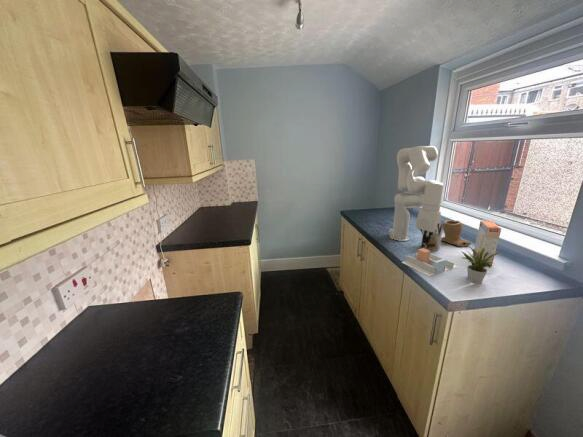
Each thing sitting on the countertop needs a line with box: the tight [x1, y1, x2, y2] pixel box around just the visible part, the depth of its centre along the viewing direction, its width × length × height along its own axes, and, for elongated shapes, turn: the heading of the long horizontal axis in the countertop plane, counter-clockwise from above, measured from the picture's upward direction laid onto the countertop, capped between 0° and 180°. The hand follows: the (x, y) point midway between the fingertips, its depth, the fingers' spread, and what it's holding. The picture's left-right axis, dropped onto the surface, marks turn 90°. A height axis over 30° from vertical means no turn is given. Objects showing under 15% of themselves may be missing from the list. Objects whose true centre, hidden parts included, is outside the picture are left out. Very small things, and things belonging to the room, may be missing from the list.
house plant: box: [460, 245, 503, 285], centre depth 105 cm, size 14×14×16 cm
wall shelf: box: [401, 252, 459, 277], centre depth 121 cm, size 16×22×7 cm
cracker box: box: [472, 220, 502, 266], centre depth 124 cm, size 14×6×21 cm, turn 153°
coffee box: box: [420, 224, 444, 252], centre depth 139 cm, size 9×6×16 cm
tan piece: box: [441, 219, 472, 247], centre depth 148 cm, size 15×12×15 cm
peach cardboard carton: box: [417, 248, 431, 264], centre depth 120 cm, size 4×4×8 cm
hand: (425, 242), depth 118 cm, fingers closed
